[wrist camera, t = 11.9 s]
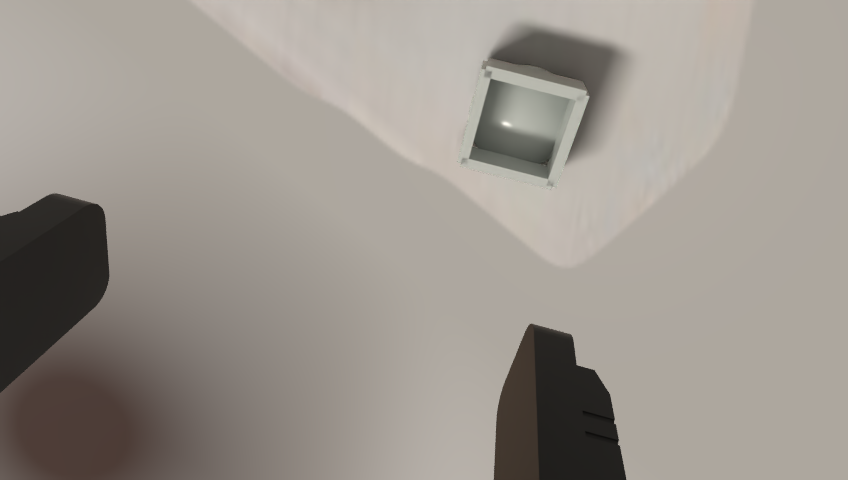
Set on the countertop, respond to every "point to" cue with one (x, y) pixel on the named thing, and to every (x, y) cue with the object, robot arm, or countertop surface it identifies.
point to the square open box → (522, 123)
